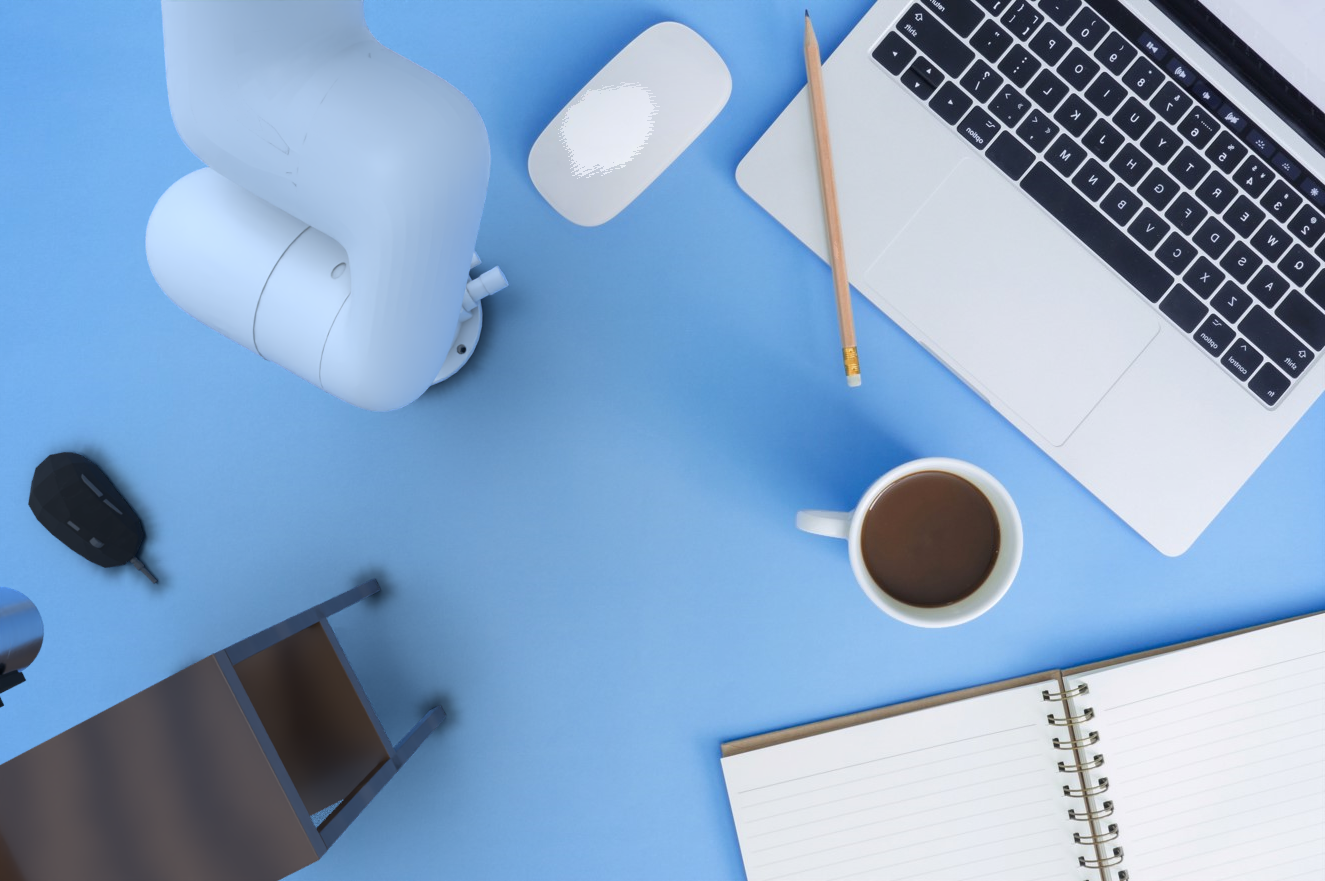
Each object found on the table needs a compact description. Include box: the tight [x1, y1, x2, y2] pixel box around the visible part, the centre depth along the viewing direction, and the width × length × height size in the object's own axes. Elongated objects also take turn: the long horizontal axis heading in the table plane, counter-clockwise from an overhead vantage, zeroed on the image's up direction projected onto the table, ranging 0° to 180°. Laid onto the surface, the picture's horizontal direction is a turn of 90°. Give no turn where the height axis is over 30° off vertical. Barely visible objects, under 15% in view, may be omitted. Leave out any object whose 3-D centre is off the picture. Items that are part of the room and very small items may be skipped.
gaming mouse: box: [27, 451, 158, 585], centre depth 78 cm, size 6×15×4 cm, turn 42°
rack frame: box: [223, 578, 447, 851], centre depth 67 cm, size 20×14×25 cm
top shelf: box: [0, 648, 328, 881], centre depth 53 cm, size 20×14×3 cm
